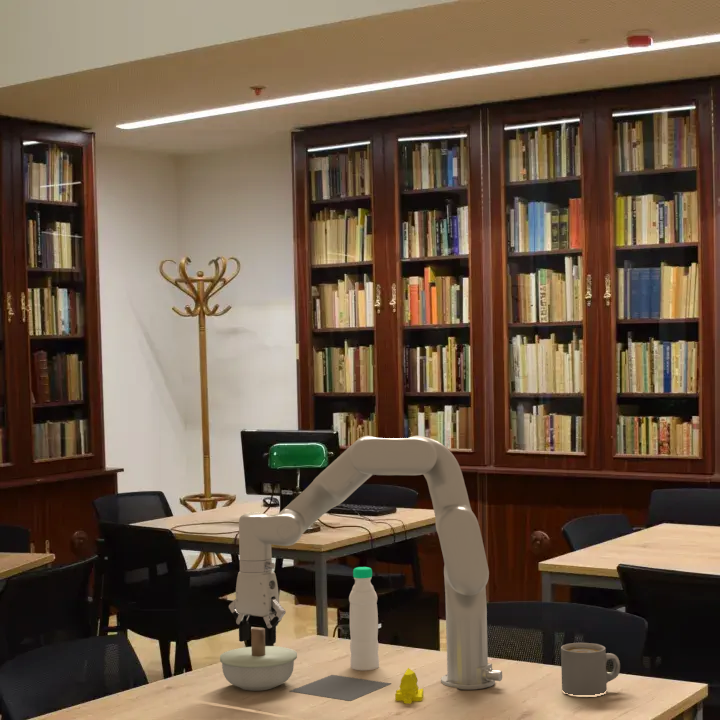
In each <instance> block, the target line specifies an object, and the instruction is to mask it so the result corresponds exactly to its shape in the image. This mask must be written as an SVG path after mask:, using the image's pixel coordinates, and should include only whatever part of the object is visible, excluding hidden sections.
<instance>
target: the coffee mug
mask: <svg viewBox="0 0 720 720" xmlns="http://www.w3.org/2000/svg"><path fill="white" fill-rule="evenodd" d="M606 649H607V648H606V647H605V646H604V645H602V644H599V643H593V642H591V643H589V642H573V643H566V644H563V645H561V647H560V660H561V661H560V662H561V666H560V667H561V669H560V670H561V691H562V690H563V691H564V692H565V693H568V694H573V695H595V694H600V693H604V692H605V691H606V690H608V687H607V686H608V685H607V684H608V682H610V681H613V680H615V679H616V678H618V676H619V674H620V670H621V663H620V662H621V661H620V660H619V659H620V658H619V657H618V656H617V655H616V654H614V653H611V652H610V653H609V652H607V653H606V651H607V650H606ZM609 660H610V661H612V664H613V669H612V671H611V672H607V662H608V661H609Z"/></svg>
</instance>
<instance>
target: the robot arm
mask: <svg viewBox="0 0 720 720" xmlns="http://www.w3.org/2000/svg"><path fill="white" fill-rule="evenodd" d="M375 475H376V476H421V475H423V476H424V478H425V481H426V482H427V486H428V487H427V488H428V491H429V494H430V495H429V496H430V499H431V502H432V507H433V512H434V518H435V519H434V520H435V530H436V532H437V535H438V539H439V544H440V548H441V552H442V557H443V563H444V566H443V576H444V592H445V595H444V596H445V627H446V628H445V630H446V635H445V636H446V671H447V674H445V675H442V676H441V678H440V684H442V685H445V686H447V687H449V688H456V689H457V690H464V691H465V690H471V691H472V690H482V689H487V688H490V687H492V686H494V685H495V684H496V682H502V680H503V671H502V670H495V669H493V664H492V663H489V659H488V656H489V655H488V620H487V617H488V616H487V615H488V614H487V613H488V611H487V610H488V609H487V590H486V588H487V587H486V586H487V584H488V581H489V577H490V576H489V575H490V571H489V566H488V561H487V556H486V551H485V547H484V542H483V541H484V540H483V537H482V531H481V528H480V525H479V521H478V518H477V517H476V514H475V513H474V512H473V511H472V507H471V503H470V499H469V495H468V491H467V487H466V484H465V479H464V476H463V472H462V469H461V467H460V464H459V462H458V460H457V459H456V457H455V456H454V454H453V452H451V451H450V450H449V449H448V447H446V446H445V445H444V444H442V443H441V442H440V441H437V440H435V439H433V438H430V437H427V436H423V435H413V436H410V437H408V438H407V437H406V438H405V437H404V438H403V437H402V438H401V437H400V438H394V437H393V438H390V437H389V438H385V437H384V438H383V437H375V436H372V435H364V436H361V437H359V438H358V439H357V440H356V441H353V443H352V444H351V445H350V446H348V448H347V449H345V450H344V451H343V452H342V453H341V454H340V455H339V456H338V457H337V458H336V459H334V460H333V461H332V462H331V463H330V464H329V465H328V466H327V467H326V468H325V469H323V470H322V471H321V472H320V473H319V474H318V475H317V476H316V477H315V478H314V479H313V481H312V482H311V483H310V484H309V485H308V486H307V487H305V489H304V490H303V491H302V492H300V494H298V496H296V497H295V498H294V499H292V500H291V501H290V503H289V504H287V506H285V507H284V508H283V509H282V510H280V512H279V513H278V514H276V515H269V514H267V513H261V512H253V513H244V514H241V516H240V517H239V520H238V538H239V539H238V541H239V542H238V543H239V544H238V545H239V572H237V573H238V574H237V577H236V585H235V586H236V587H235V598H234V599H233V600H232V601H231V603H229V605H228V609H229V610H230V612H231V613H232V616H233V618H234V619H235V622H236V624H237V625H238V641H239V642H246V641H249V640H250V639H251V638H250V637H251V635H250V634H251V633H250V632H251V629H250V622H249V618H250V616H253V617H261V618H263V621H264V622H265V624H266V627H265V646H272V645H274V644H275V643H276V642H277V628H276V627H277V626H279V623H280V622H281V621H282V619H283V618H284V616H285V615H286V609H284V607H283V606H282V605H281V604H280V593H279V587H278V586H279V585H278V580H277V576H276V573H275V572H274V571H273V569H275V567H276V566H275V565H276V564H275V563H274V562H273V559H272V558H273V557H272V556H273V554H272V545H274V546H281V547H282V546H283V547H290V546H293V545H295V544H296V543H297V542H299V540H300V539H301V537H302V535H304V533H305V532H306V531H307V530H308V529H309V528H310V527H311V526H312V525H313V524H314V523H316V522H317V521H318V519H320V518H321V517H322V516H324V515H325V514H326V513H327V512H329V511H330V510H331V509H333V508H335V507H337V506H339V505H340V504H342V503H343V502H344V501H345V500H347V499H348V498H349V497H350V496H351V495H352V494H353V493H355V491H357V489H359V487H361V486H362V485H363V484H364V483H365V482H367V480H369V479H370V478H371V477H372V476H375Z"/></svg>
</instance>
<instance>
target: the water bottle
mask: <svg viewBox="0 0 720 720" xmlns="http://www.w3.org/2000/svg"><path fill="white" fill-rule="evenodd" d="M352 577H353V579H354V584H353V586H352V588H351V591H350V593H349V596H348V601H349V633H350V642H349V643H350V645H349V649H350V669H352V670H355V671H372V670H376V669H378V668H379V667H380V658H379V641H378V635H379V617H378V615H379V613H378V604H377V603H378V595H377V594H378V593H377V592H376V591H375V587H374V585H373V584H372V582H371V580H372V577H373V569H372V568H371V567H368V566H357V567H354V568H353V571H352Z"/></svg>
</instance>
